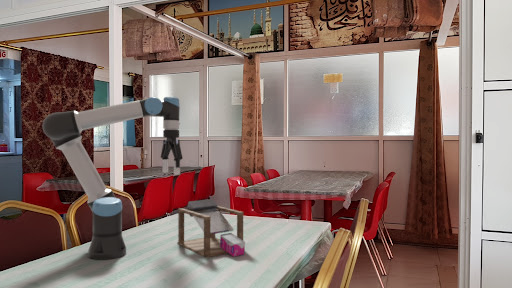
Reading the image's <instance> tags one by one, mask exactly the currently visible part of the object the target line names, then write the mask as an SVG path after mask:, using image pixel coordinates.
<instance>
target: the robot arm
mask: <svg viewBox="0 0 512 288" xmlns="http://www.w3.org/2000/svg"><path fill="white" fill-rule="evenodd" d="M180 110H181V109H180V99H179V98H178V97H175V96H164V97H163V100H161V99H160V98H158V97H156V96H155V97H154V96H151V97H148V98H143V99H139V100H135V101H133V100H132V101H129V102H124V103H119V104H113V105H108V106H104V107H99V108H98V107H97V108H94V109H87V110H83V111H76V110H74V109H73V110H71V111H70V110H69V111H62V112H59V111H58V112H53V113H50V114H48V115H47V116H46V117H45V118H44V119H43V121H42V130H43V131H42V132H43V133H44V134H45V135H46V137H48V138H49V139H50V140H51V142H52V144H53V145H54V147H55V149H56V150H60V151H61V152H62V154H63V155H64V157H65V158H66V161H67V162H68V164H69V166H70V167H71V169H72V171H73V173H74V174H75V177H76V178H77V180H78V182H79V183H80V186H81V187H82V189H83V190H84V193H85V194H86V196H87V197H88V198H87V205H88V207H89V208H90V210H91V212H92V238H91V242H90V244H89V246H88V247H89V248H88V251H87V257H88V259H93V260H111V259H116V258H121V257H122V256H125V255H126V254H127V246H126V243H125V240H124V238H123V231H122V230H123V203H122V202H123V201H122V200H121V199H120V198H119V197H118V198H117V197H116V196H115V194H114V191H113V190H112V189H110V188H108V187H107V186H106V184H105V183H104V180H103V179H102V177H101V176H100V173H99V172H98V170H97V168H96V166H95V164H94V163H93V161H92V159H91V158H90V156H89V154H88V152H87V150H86V149H85V147H84V145H83V143H82V138H83V136H82V134H81V133H82V132H83V131H85V130H89V129H94V128H99V127H103V126H109V125H113V124H117V123H122V122H125V121H131V120H135V119H140V118H145V117H146V118H147V117H155V118H156V117H159V118H160V117H161V118H162V117H163V123H162V124H163V125H162V126H163V127H162V128H163V129H164V130H162V134H163V135H162V136H163V138H166V139H163V141H162V148H161V154H160V159H162V174H165V173H166V174H167V173H169V160H170V159H169V156H170V152H171V153H172V156H173V175H174V176H177V175H179V176H180V175H181V160H183V154H182V149H181V143H180V142H181V141H180V139H179V138H180V130H179V129H180V125H181V123H180Z"/></svg>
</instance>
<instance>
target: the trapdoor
mask: <svg viewBox="0 0 512 288" xmlns="http://www.w3.org/2000/svg"><path fill="white" fill-rule="evenodd" d="M217 206H219V204H217V202H216V200H214V198H210V199H202V200H200V199H199V200H191V201H188V203H187V207H186V209H187V210H190V211H193V212H197V213H200V214H204V215H207V216H210V235H211V234H215V235H216V234H224V233H227V232H228V233H230V232H234V227H233V226H232V225H231V223H229V221H228V220H227V219H226V216H224V215H223V214H222V212H221V210H217ZM189 216H190V218H193V219H194V220H195V222H196V223H197V224H198V226H199V227H200V229H201V230H202V232H203V233H204V219H202V218H198V217H195V216H192V215H189Z"/></svg>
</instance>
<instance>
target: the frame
mask: <svg viewBox="0 0 512 288" xmlns="http://www.w3.org/2000/svg"><path fill="white" fill-rule="evenodd" d="M216 210H220V212H221V211H222V212H226V213H229V214H233V215H236V236H237V237H238V238H240V239H241V240H243V241H244V211H241V210H240V211H239V210H236V209H234V208H233V209H231V208H228V207H224V206H220V205H218V206H217V209H216ZM177 211H178V212H177V213H178V215H177V216H178V218H177V219H178V226H177V228H178V230H177V231H178V232H177V233H178V234H177V235H178V238H177V239H178V240H177V241H178V242H177V243H176V244H177V245H179V246H181V247H183V248H185V249H188V250H189V251H191V252H194V253H196V254H199V255H201V256H202V257H204V258H213V257H218V256H222V255H227V254H229V253H228V252H226V251H225V250H223V249H222V248H221V247H220V238H219V237H218V238H217V237H216V234H211V235H210V216H207V215H204V214H200V213H197V212H193V211H190V210H187V208H180V207H179V208H178V210H177ZM185 214H187V215H189V216H190V215H192V216H195V217H198V218H202V219H204V232H203V237H201V238H195V239H189V240H188V239H187V240H185ZM245 250H246V249H244V251H245Z"/></svg>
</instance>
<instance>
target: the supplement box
mask: <svg viewBox="0 0 512 288" xmlns="http://www.w3.org/2000/svg"><path fill="white" fill-rule="evenodd" d="M219 239H220V247H221V248H222V249H223V250H225V251H226V252H228V254H229V255H231V256H232V257H237V256H243V255H245V250H246V249H245V248H246V241H244V239H243V240H241V239H240V238H238V237H237V235H235V234H233V233H232V232H228V233H221V234H220V236H219ZM244 249H245V250H244Z"/></svg>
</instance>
